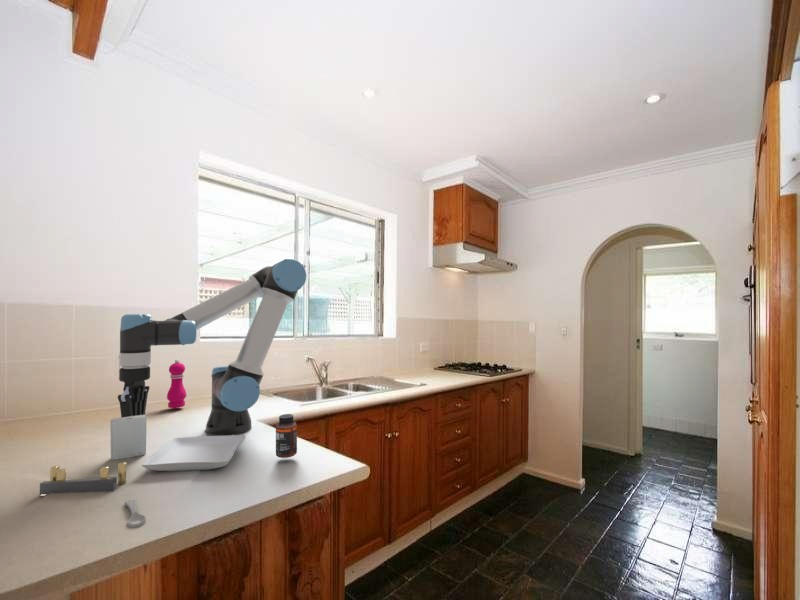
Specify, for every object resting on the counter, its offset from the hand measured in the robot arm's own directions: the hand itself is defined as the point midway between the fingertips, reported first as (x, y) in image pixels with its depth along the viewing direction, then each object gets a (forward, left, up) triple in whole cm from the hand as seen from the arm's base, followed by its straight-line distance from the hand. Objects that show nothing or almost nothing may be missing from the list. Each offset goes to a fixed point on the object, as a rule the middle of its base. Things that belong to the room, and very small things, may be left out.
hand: (133, 447), depth 113 cm
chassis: (0, +22, -2) cm, 22 cm away
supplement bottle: (-44, +8, -2) cm, 45 cm away
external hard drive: (0, +3, -2) cm, 3 cm away
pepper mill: (+9, -54, -2) cm, 55 cm away
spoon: (-18, +37, -2) cm, 41 cm away
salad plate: (-20, +7, -2) cm, 22 cm away
